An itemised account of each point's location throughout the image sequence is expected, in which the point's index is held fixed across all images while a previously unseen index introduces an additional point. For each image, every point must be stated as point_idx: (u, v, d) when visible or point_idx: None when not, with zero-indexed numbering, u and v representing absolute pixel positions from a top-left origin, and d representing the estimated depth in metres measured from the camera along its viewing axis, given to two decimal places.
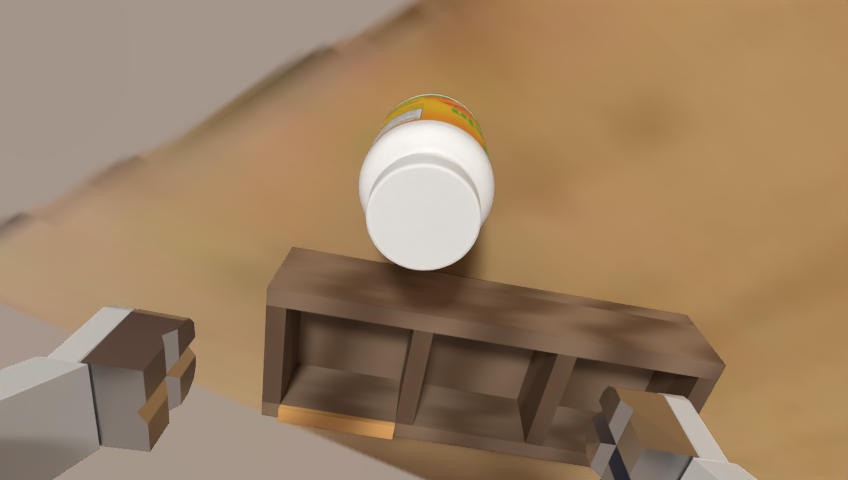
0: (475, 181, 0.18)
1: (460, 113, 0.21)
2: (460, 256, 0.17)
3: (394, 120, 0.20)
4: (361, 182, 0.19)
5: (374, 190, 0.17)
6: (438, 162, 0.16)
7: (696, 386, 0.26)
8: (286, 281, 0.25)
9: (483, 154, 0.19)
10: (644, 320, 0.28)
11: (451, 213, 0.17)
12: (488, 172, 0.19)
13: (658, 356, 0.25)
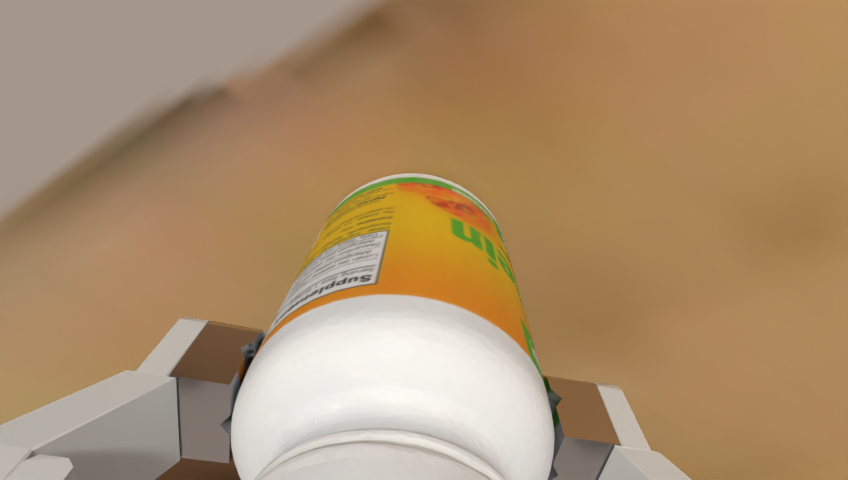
0: (513, 456, 0.07)
1: (468, 233, 0.10)
2: None
3: (325, 261, 0.09)
4: (232, 440, 0.08)
5: None
6: None
7: None
8: None
9: (532, 381, 0.07)
10: None
11: None
12: (544, 425, 0.07)
13: None
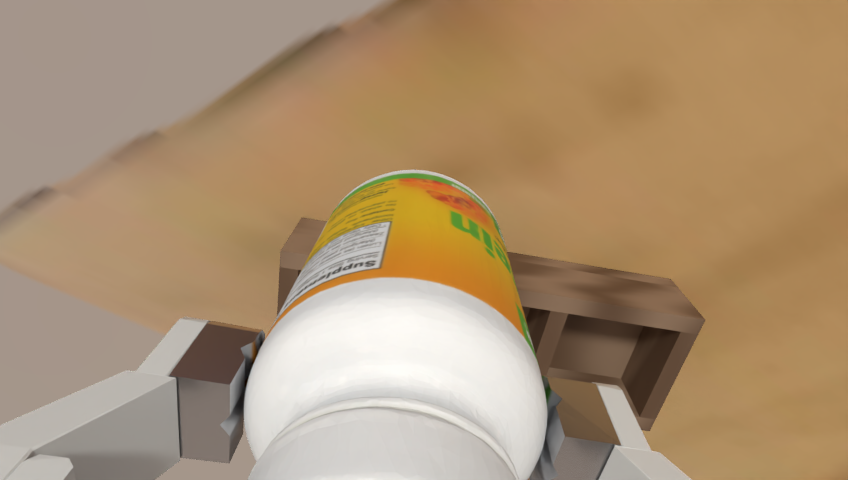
0: (508, 427, 0.08)
1: (467, 224, 0.11)
2: None
3: (331, 250, 0.10)
4: (245, 415, 0.08)
5: None
6: (416, 462, 0.06)
7: (678, 340, 0.28)
8: (298, 245, 0.27)
9: (526, 358, 0.08)
10: (630, 282, 0.30)
11: None
12: (538, 399, 0.08)
13: (643, 312, 0.27)
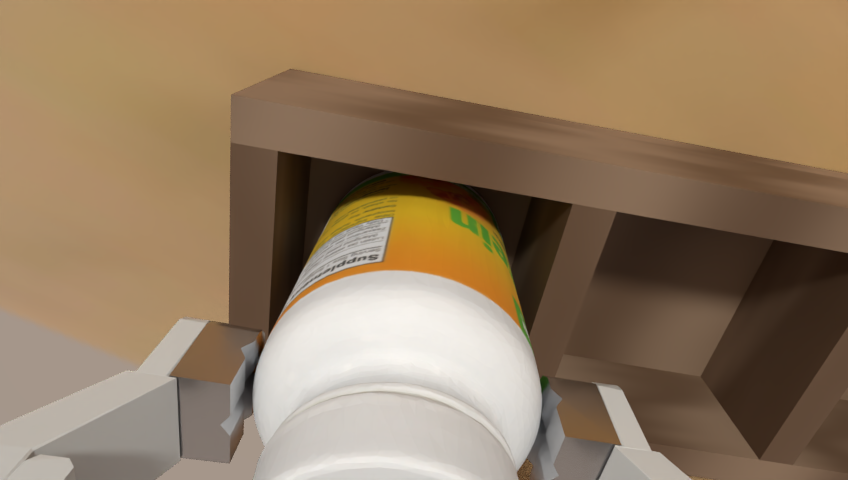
0: (504, 413, 0.08)
1: (466, 220, 0.11)
2: None
3: (335, 244, 0.10)
4: (254, 401, 0.09)
5: None
6: (417, 441, 0.06)
7: None
8: (278, 94, 0.11)
9: (521, 347, 0.08)
10: None
11: None
12: (532, 386, 0.08)
13: None
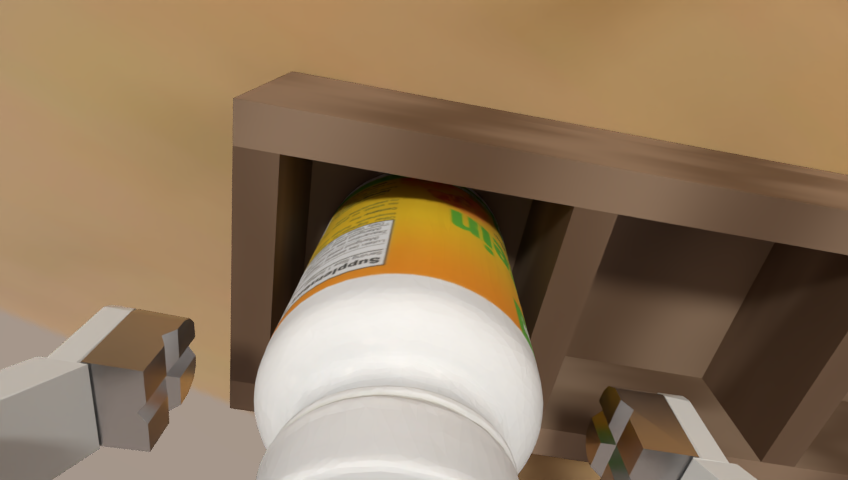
0: (506, 416, 0.08)
1: (467, 223, 0.11)
2: None
3: (336, 247, 0.10)
4: (256, 404, 0.09)
5: None
6: (419, 446, 0.06)
7: None
8: (280, 97, 0.11)
9: (522, 350, 0.08)
10: None
11: None
12: (533, 389, 0.08)
13: None
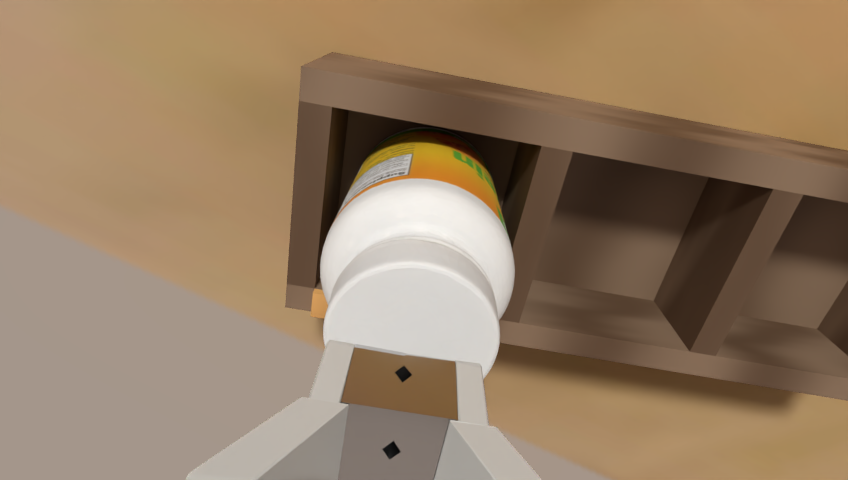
0: (488, 269, 0.13)
1: (464, 159, 0.16)
2: None
3: (373, 171, 0.15)
4: (322, 267, 0.13)
5: (334, 300, 0.11)
6: (433, 258, 0.10)
7: None
8: (331, 67, 0.15)
9: (500, 229, 0.13)
10: None
11: (454, 333, 0.11)
12: (507, 255, 0.13)
13: None
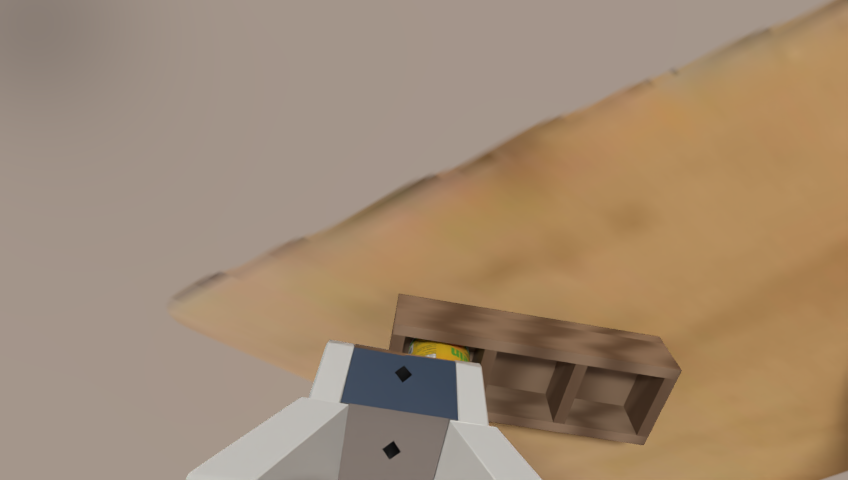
0: None
1: (455, 352, 0.40)
2: None
3: None
4: None
5: None
6: None
7: (663, 384, 0.41)
8: (404, 319, 0.40)
9: None
10: (630, 341, 0.43)
11: None
12: None
13: (639, 365, 0.40)
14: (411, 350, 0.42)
